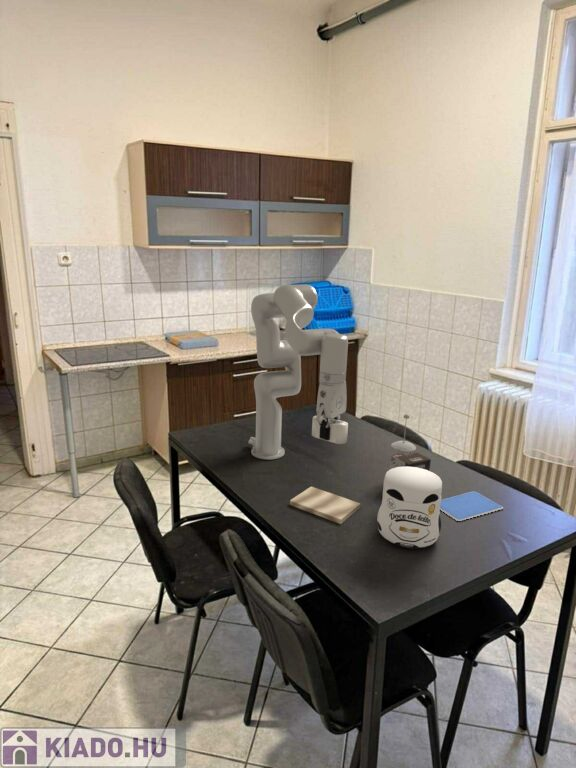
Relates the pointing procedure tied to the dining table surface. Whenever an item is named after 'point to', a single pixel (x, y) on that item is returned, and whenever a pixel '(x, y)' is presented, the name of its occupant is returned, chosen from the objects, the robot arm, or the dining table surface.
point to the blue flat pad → (468, 506)
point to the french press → (401, 447)
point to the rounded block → (332, 430)
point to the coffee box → (413, 461)
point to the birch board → (325, 504)
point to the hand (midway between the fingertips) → (329, 435)
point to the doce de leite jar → (410, 507)
